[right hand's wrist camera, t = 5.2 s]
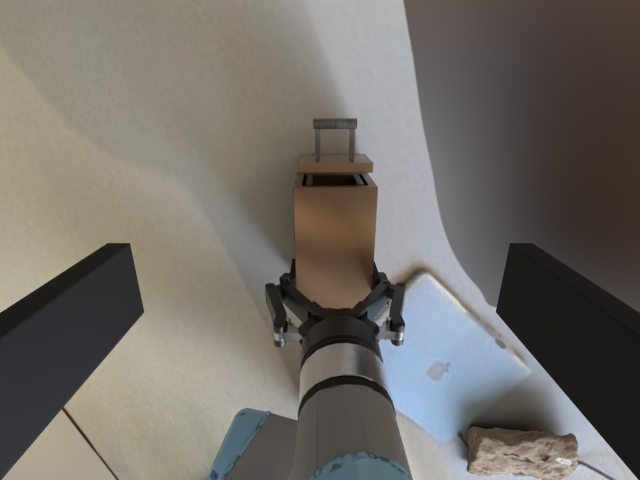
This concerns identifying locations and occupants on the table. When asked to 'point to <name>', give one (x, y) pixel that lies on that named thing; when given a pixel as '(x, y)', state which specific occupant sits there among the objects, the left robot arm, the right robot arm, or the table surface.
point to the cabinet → (334, 241)
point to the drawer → (334, 158)
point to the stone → (521, 453)
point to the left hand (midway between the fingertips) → (332, 266)
